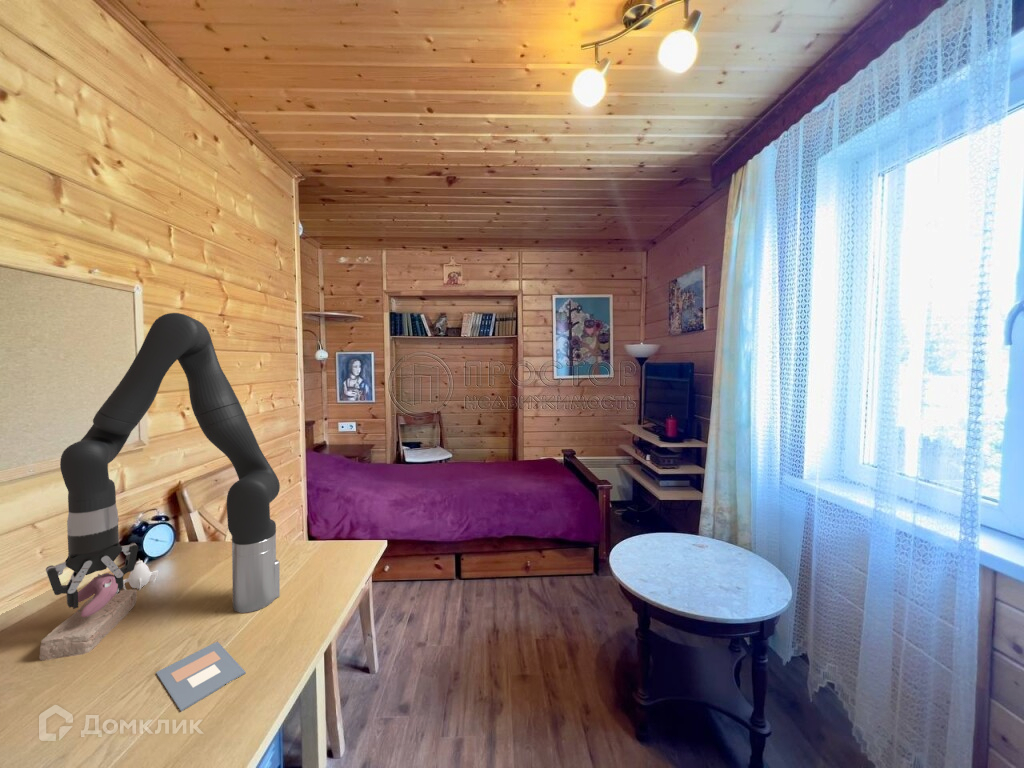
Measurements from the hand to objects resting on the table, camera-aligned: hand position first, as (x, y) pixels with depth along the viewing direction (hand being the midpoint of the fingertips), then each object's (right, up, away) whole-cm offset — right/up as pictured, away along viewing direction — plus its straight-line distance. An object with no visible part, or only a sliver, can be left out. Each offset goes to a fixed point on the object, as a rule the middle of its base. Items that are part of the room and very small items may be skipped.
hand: (96, 599), depth 84 cm
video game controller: (0, -1, 0) cm, 1 cm away
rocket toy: (-7, -6, +16) cm, 19 cm away
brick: (-1, -8, +1) cm, 8 cm away
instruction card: (+32, -9, -10) cm, 35 cm away
